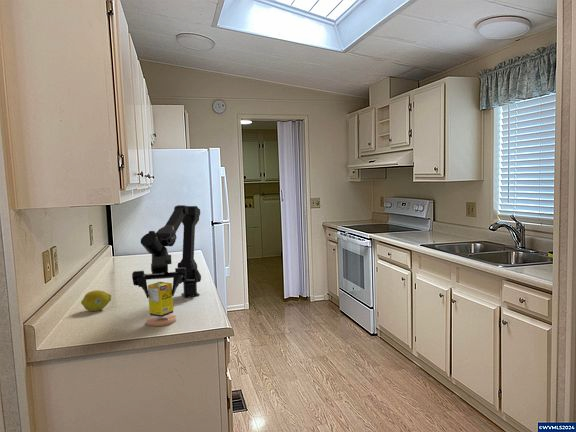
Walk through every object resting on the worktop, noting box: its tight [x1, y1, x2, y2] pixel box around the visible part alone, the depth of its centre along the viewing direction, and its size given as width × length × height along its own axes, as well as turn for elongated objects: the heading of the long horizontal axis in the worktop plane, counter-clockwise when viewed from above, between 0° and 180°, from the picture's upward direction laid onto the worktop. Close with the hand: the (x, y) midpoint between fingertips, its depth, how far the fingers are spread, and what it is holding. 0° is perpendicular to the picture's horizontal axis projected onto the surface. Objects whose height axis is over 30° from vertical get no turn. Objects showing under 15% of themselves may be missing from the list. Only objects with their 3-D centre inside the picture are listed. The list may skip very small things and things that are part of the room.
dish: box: [146, 313, 177, 327], centre depth 150 cm, size 10×10×1 cm
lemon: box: [80, 289, 112, 312], centre depth 166 cm, size 11×8×8 cm
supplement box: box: [147, 281, 174, 317], centre depth 150 cm, size 6×6×11 cm
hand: (160, 296), depth 148 cm, fingers closed on supplement box, 8 cm apart
